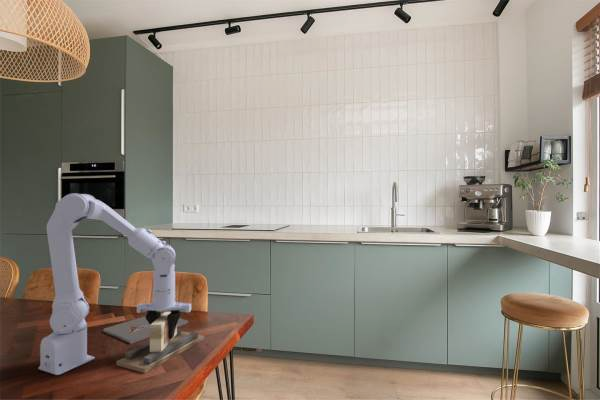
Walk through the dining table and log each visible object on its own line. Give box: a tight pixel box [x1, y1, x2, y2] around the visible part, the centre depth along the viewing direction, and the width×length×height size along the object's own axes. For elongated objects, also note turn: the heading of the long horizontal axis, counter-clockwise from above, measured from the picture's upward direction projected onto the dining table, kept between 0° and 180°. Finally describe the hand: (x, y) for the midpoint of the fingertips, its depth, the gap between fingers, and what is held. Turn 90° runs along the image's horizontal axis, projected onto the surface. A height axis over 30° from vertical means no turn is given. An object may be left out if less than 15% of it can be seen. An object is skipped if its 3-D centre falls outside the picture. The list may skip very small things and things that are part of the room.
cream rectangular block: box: [149, 312, 178, 352], centre depth 94 cm, size 12×3×7 cm, turn 1°
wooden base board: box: [116, 328, 206, 374], centre depth 94 cm, size 22×10×2 cm, turn 156°
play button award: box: [103, 312, 189, 344], centre depth 112 cm, size 16×2×20 cm
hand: (164, 337), depth 94 cm, fingers open, 3 cm apart
